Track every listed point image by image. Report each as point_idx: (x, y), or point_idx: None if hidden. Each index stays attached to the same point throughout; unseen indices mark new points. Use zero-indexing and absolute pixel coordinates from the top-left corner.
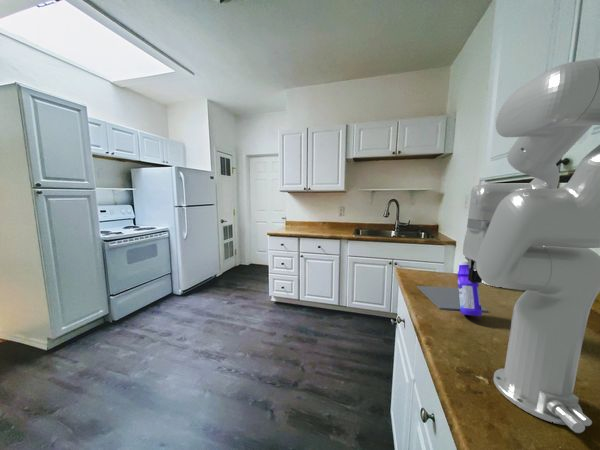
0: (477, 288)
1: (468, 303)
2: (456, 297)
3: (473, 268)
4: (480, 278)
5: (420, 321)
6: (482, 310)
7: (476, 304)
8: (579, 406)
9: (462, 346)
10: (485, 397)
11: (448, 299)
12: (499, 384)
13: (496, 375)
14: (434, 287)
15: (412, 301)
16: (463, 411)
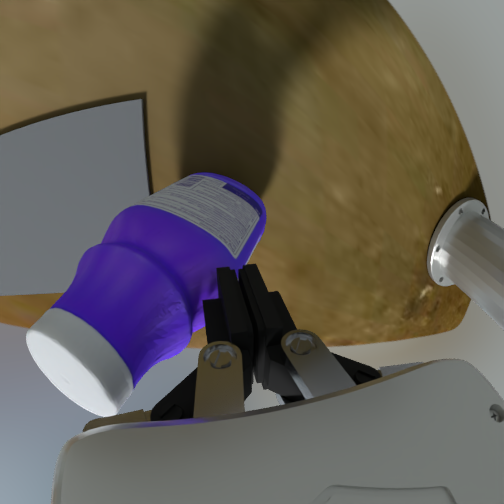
0: (237, 252)
1: (249, 258)
2: (40, 183)
3: (279, 395)
4: (281, 300)
5: None
6: (142, 121)
7: (260, 231)
8: (485, 207)
9: (361, 290)
10: (442, 300)
11: (71, 225)
12: (446, 284)
13: (437, 279)
14: None
15: None
16: (444, 326)
